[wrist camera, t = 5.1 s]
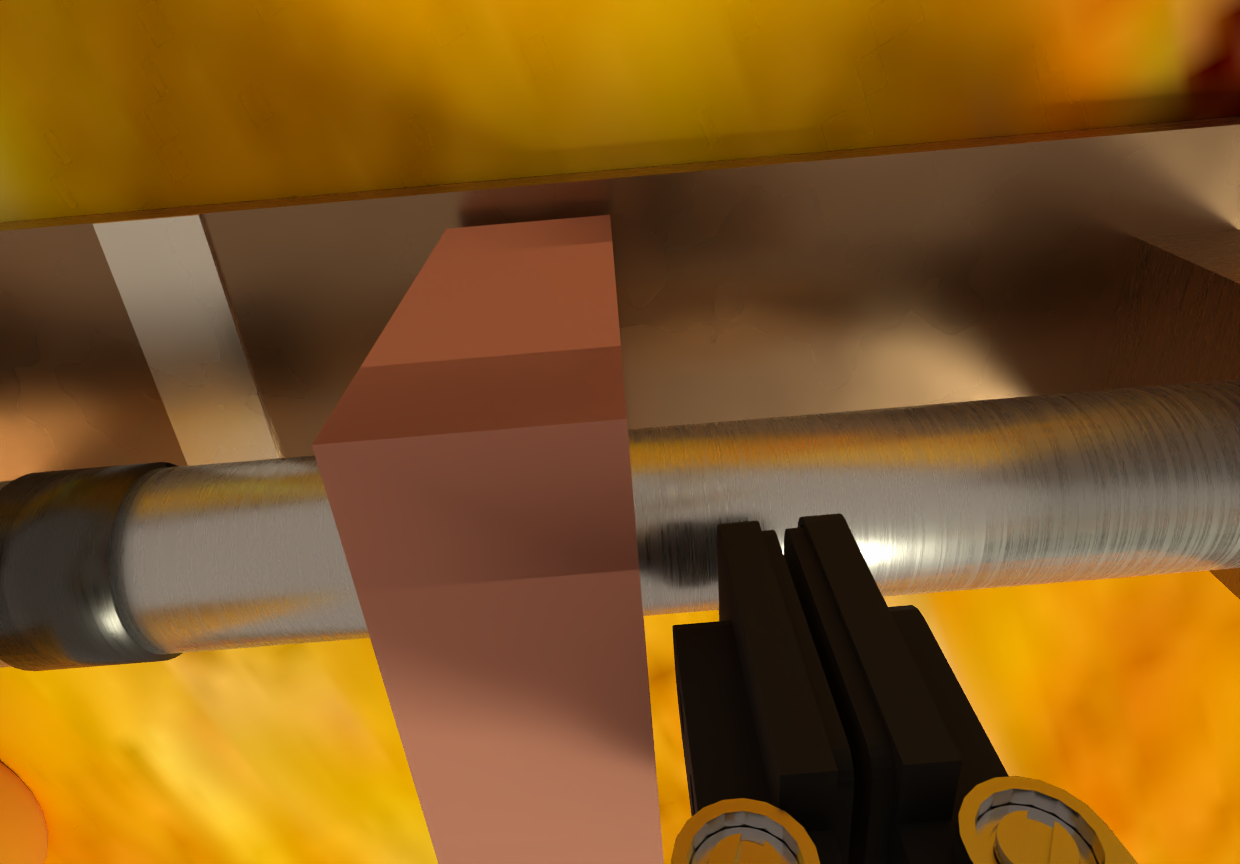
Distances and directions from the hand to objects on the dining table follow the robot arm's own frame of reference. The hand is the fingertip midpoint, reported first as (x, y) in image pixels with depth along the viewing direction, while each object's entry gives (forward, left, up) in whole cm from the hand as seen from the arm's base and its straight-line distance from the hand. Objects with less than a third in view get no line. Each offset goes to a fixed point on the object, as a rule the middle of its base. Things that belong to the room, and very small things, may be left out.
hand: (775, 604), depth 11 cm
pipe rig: (0, -4, -8) cm, 9 cm away
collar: (0, -3, -6) cm, 7 cm away
